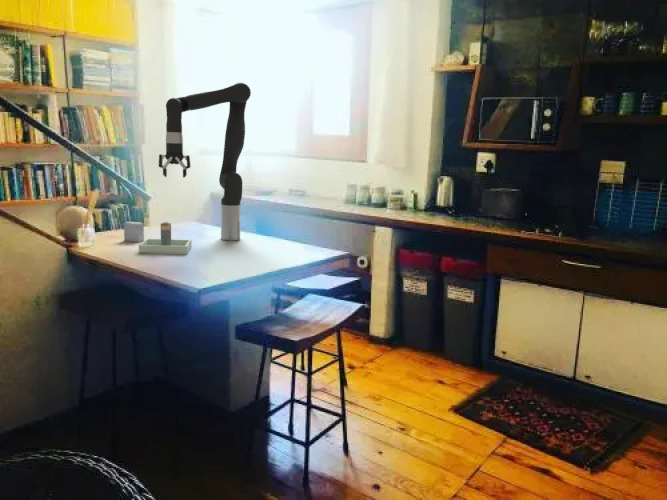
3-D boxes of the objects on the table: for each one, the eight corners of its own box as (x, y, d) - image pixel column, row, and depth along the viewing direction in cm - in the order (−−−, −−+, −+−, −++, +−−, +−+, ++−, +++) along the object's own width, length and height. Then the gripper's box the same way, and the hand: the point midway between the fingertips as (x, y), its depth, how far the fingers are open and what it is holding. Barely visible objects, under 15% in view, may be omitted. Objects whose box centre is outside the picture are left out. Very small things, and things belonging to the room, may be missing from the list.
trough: (191, 247, 256) (191, 239, 255) (187, 254, 241) (186, 246, 240) (146, 246, 253) (146, 238, 253) (138, 253, 239) (138, 245, 238)
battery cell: (172, 247, 250) (171, 221, 247) (170, 249, 245) (170, 222, 243) (161, 247, 249) (161, 220, 247) (159, 249, 245) (159, 222, 242)
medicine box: (144, 240, 265) (143, 222, 263) (138, 242, 261) (138, 224, 259) (129, 239, 267) (129, 221, 265) (124, 240, 263) (123, 222, 261)
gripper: (191, 142, 267) (191, 176, 270) (160, 141, 265) (160, 175, 269) (188, 143, 260) (189, 178, 263) (157, 141, 258) (157, 177, 261)
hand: (174, 177), depth 266 cm, fingers open, 8 cm apart
